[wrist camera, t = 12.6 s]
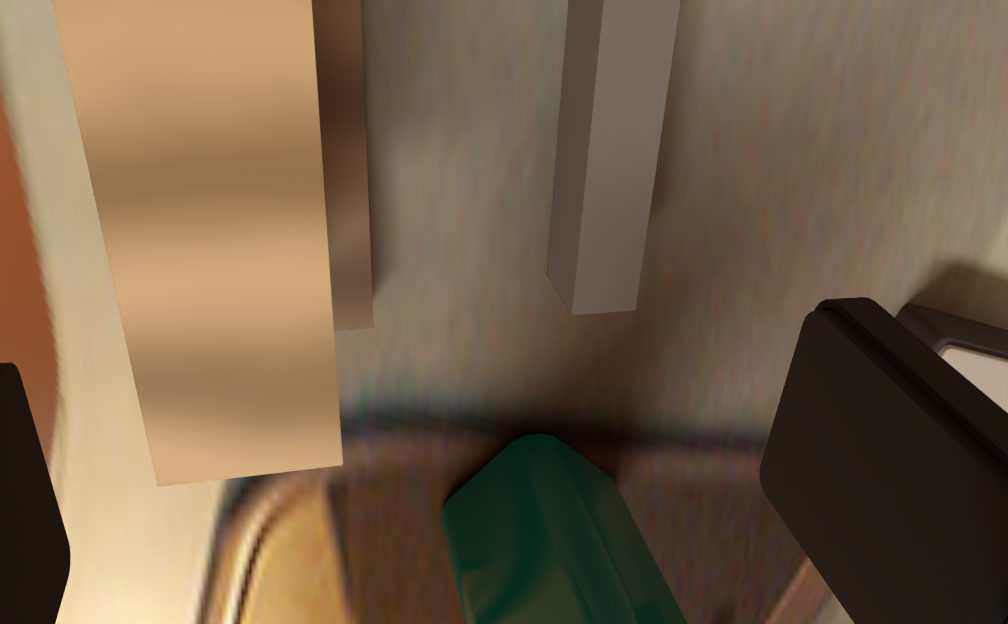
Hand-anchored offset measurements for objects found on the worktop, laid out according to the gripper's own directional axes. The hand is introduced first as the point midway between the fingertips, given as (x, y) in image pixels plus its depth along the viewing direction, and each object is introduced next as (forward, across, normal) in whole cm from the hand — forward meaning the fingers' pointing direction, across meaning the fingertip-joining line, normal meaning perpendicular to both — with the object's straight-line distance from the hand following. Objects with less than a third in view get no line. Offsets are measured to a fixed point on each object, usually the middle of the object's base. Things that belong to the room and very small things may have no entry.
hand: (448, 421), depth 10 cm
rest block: (+26, -11, +2) cm, 28 cm away
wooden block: (+17, +4, +2) cm, 18 cm away
